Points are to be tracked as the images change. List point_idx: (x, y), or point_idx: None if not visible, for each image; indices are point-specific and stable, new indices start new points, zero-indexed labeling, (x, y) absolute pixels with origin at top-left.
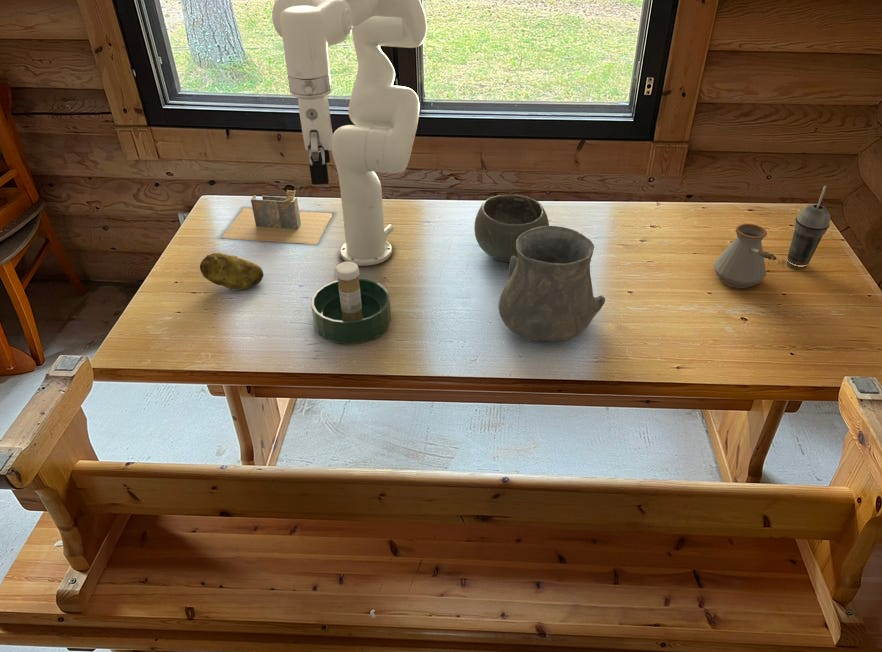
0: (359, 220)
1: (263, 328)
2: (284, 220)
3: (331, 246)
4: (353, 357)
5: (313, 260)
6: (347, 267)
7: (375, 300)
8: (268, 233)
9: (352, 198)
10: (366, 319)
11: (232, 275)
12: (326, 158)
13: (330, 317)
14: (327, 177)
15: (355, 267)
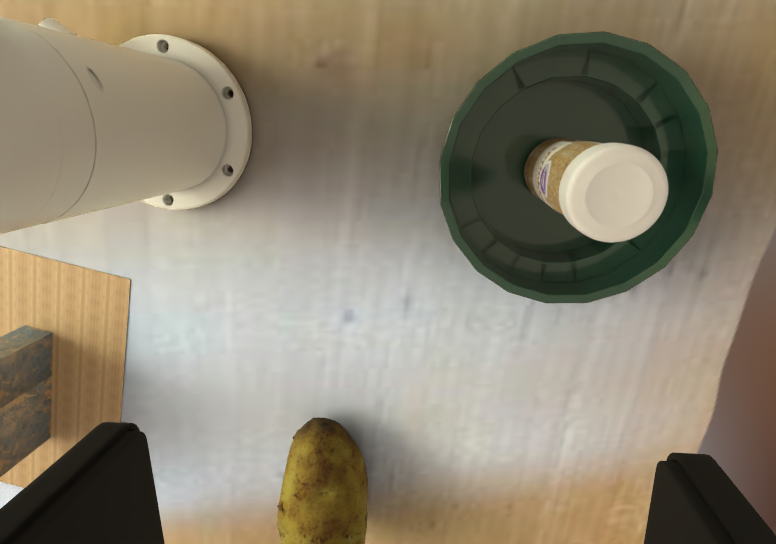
0: (148, 141)
1: (535, 401)
2: (31, 376)
3: (139, 236)
4: (727, 168)
5: (217, 286)
6: (624, 192)
7: (517, 93)
8: (82, 406)
9: (74, 170)
10: (711, 121)
11: (357, 504)
12: (118, 478)
13: (529, 236)
14: (744, 509)
15: (633, 156)
